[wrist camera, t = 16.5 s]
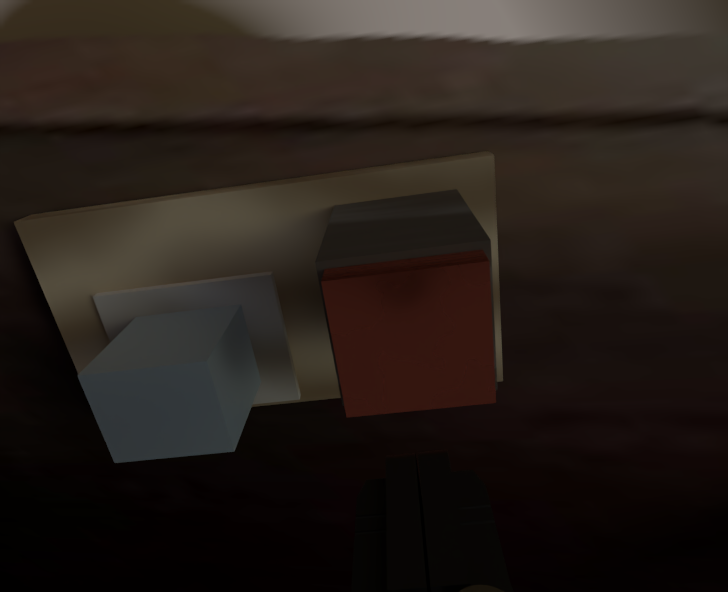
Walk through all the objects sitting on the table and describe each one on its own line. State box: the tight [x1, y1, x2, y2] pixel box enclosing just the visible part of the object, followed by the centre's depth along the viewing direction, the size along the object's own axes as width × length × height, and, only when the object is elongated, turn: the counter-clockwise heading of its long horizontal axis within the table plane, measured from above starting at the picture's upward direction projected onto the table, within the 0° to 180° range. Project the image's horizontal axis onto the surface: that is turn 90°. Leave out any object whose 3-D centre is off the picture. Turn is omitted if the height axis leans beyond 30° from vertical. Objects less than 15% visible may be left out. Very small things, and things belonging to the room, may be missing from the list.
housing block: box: [77, 304, 261, 463], centre depth 26 cm, size 5×6×6 cm
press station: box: [14, 151, 503, 407], centre depth 25 cm, size 13×25×10 cm, turn 98°
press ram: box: [321, 250, 496, 417], centre depth 21 cm, size 6×6×7 cm
